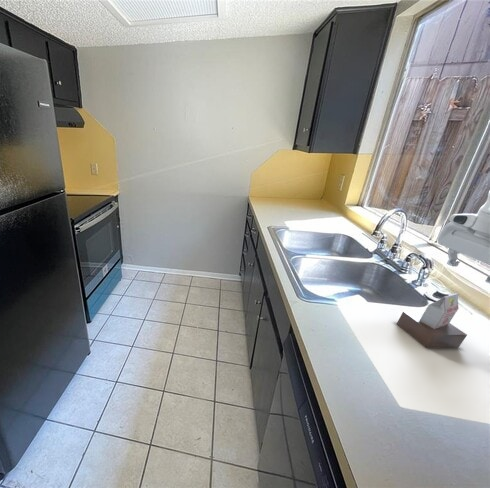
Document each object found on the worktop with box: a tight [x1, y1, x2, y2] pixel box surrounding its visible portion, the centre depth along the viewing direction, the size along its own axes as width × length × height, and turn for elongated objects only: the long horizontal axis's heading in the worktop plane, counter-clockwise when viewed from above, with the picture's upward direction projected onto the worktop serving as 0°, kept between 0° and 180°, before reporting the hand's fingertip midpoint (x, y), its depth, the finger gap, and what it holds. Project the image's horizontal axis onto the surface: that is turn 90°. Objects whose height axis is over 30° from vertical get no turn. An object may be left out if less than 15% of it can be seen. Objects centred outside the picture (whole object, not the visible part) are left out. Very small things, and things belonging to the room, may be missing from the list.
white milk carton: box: [420, 293, 460, 329], centre depth 75 cm, size 4×7×10 cm, turn 109°
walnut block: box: [396, 311, 468, 349], centre depth 78 cm, size 10×10×5 cm
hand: (470, 273), depth 69 cm, fingers open, 8 cm apart
